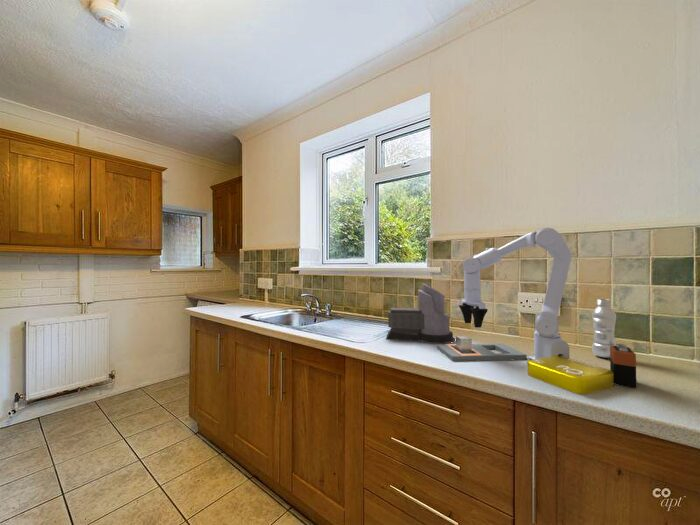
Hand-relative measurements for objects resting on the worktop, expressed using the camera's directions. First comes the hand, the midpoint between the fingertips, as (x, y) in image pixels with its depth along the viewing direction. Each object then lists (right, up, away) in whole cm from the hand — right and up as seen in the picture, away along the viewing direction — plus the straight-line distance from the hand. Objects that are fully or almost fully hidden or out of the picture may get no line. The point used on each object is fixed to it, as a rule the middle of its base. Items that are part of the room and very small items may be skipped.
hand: (472, 325), depth 107 cm
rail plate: (0, -9, -5) cm, 11 cm away
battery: (+28, -9, -30) cm, 42 cm away
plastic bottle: (+41, -9, -10) cm, 44 cm away
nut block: (-6, -9, -5) cm, 12 cm away
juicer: (-15, -10, +18) cm, 26 cm away
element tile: (+14, -10, -28) cm, 33 cm away
